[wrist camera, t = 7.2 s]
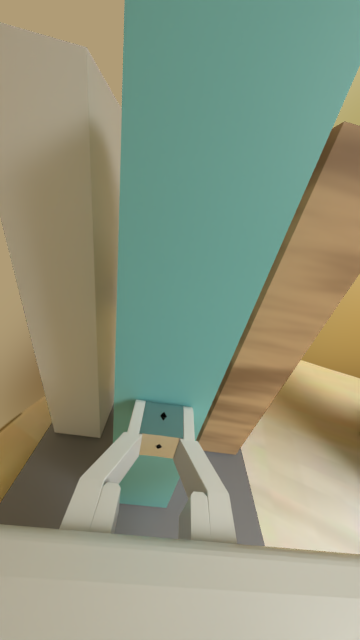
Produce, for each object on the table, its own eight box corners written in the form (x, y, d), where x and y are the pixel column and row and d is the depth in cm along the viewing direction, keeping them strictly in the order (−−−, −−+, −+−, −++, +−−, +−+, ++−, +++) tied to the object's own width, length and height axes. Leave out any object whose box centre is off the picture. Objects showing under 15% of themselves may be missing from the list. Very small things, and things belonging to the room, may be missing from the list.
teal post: (166, 507, 17) (414, -60, 3) (111, 502, 16) (129, -171, 3) (169, 447, 21) (281, 101, 8) (126, 442, 21) (162, 67, 7)
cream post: (100, 437, 21) (86, 47, 7) (54, 432, 20) (-53, 7, 7) (114, 399, 25) (123, 112, 11) (77, 394, 24) (40, 91, 11)
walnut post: (235, 454, 22) (444, 150, 8) (195, 449, 21) (344, 121, 8) (226, 415, 26) (354, 173, 13) (193, 410, 26) (287, 156, 12)
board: (269, 603, 14) (278, 601, 14) (-42, 585, 13) (-51, 581, 12) (227, 414, 28) (230, 408, 28) (76, 392, 27) (76, 385, 26)
